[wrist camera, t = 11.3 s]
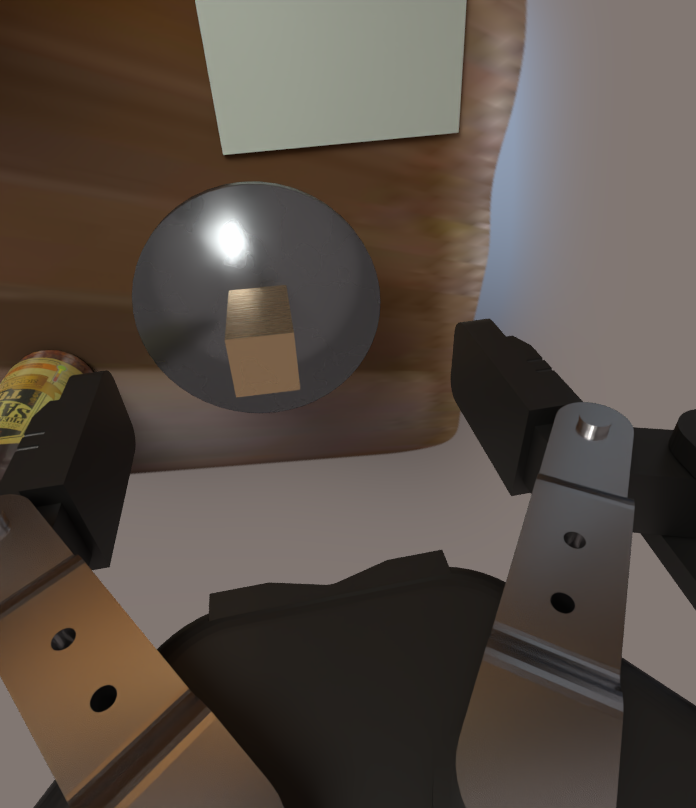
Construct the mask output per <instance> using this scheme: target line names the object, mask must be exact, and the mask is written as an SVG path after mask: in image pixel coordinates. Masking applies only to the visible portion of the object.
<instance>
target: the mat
mask: <svg viewBox="0 0 696 808" xmlns="http://www.w3.org/2000/svg"><path fill="white" fill-rule="evenodd" d="M466 2H467V0H195V3H196V8H197V14H198V19H199V25H200V30H201V36H202V41H203V47H204V52H205V58H206V63H207V69H208V74H209V80H210V85H211V91H212V96H213V102H214V107H215V113H216V118H217V124H218V129H219V135H220V140H221V146H222V151H223V155H228V154H238V153H249V152H260V151H270V150H281V149H291V148H302V147H312V146H323V145H333V144H344V143H354V142H365V141H376V140H386V139H397V138H407V137H418V136H428V135H439V134H449V133H459V117H460V101H461V84H462V68H463V51H464V35H465V18H466Z"/></svg>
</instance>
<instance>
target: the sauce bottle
mask: <svg viewBox="0 0 696 808" xmlns="http://www.w3.org/2000/svg"><path fill="white" fill-rule="evenodd" d="M92 372H93V371H92V370H91V368H90V367H89V366H88V365H87V364H86V363H85V362H84V361H82V360H81V359H79V358H78V357H76V356H75V355H73V354H70V353H67V352H63V351H59V350H44V351H38V352H33V353H31V354H30V355H27V356H25V357H24V358H23V359H22V360H20V361H19V363H18V364H16V365H15V366H14V367H12V368H11V369H10V371H9V372H8V373H7V375H6V376H5V378H4V379H3V380H2V382H1V383H0V481H1V479H2V477H3V475H4V473H5V471H6V469H7V467H8V465H9V463H10V461H11V459H12V457H13V455H14V453H15V451H18V450H17V447H18V445H19V443H20V441H21V439H22V437H24V433H25V431H26V429H27V427H28V425H29V423H30V421H31V419H32V417H33V416H34V415H35V414H36V413H37V412H38V411H39V410H40V409H42V408H43V407H44V406H45V405H46V404H47V403H48V402H49V401H53V400H59V399H60V397H61V395H62V392H63V390H64V388H65V386H66V383H67V381H68V379H69V377H70V376H72V375H78V374H85V373H92Z"/></svg>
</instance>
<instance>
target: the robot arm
mask: <svg viewBox="0 0 696 808" xmlns="http://www.w3.org/2000/svg"><path fill="white" fill-rule="evenodd" d="M451 388H452V393H453V396H454V399H455V401H456V403H457V405H458V407H459V408H460V410H461V412H462V413H463V415H464V417H465V418H466V420H467V422H468V423H469V425H470V427H471V429H472V430H473V432H474V434H475V435H476V437H477V439H478V440H479V442H480V444H481V446H482V447H483V449H484V451H485V452H486V454H487V455H488V457H489V459H490V461H491V463H492V464H493V465H494V468H495V469H496V471H497V473H498V474H499V476H500V478H501V479H502V481H503V483H504V485H505V486H506V488H507V490H508V491H509V493H510V495H511V496H514V495H519V494H525V493H531V494H532V495H531V499H530V502H529V506H528V509H527V512H526V515H525V519H524V522H523V526H522V529H521V532H520V536H519V539H518V543H517V546H516V550H515V553H514V557H513V560H512V563H511V566H510V570H509V574H508V577H507V580H506V582H504V581H502V580H500V579H498V578H495V577H493V576H490V575H487V574H484V573H481V572H478V571H474V570H469V569H464V568H457V567H449V566H448V563H447V561H446V558H445V556H444V553H443V551H442V550H438V551H433V552H428V553H422V554H417V555H412V556H406V557H401V558H396V559H391V560H387V561H384V562H382V563H380V564H378V565H375V566H373V567H371V568H369V569H367V570H364V571H362V572H360V573H357V574H355V575H353V576H351V577H349V578H347V579H344V580H342V581H340V582H337V583H335V584H331V585H314V584H290V583H265V584H259V585H254V586H249V587H243V588H238V589H233V590H228V591H222V592H217V593H212V594H210V599H209V600H210V601H209V614H207V615H204V616H202V617H200V618H198V619H196V620H195V621H193V622H192V623H190V624H188V625H186V626H185V627H183V628H182V629H181V630H179V631H178V632H176V633H175V634H174V635H172V636H171V637H170V638H169V639H168V640H167V641H165V642H164V643H163V644H162V645H161V646H160V647H159V648H158V649H156V648H155V647H154V646H153V644H152V643H151V642H150V641H149V640H148V638H147V637H146V636H145V635H144V633H143V632H142V631H141V630H140V629H139V627H138V626H137V625H136V624H135V623H134V621H133V620H132V619H131V618H130V616H129V615H128V614H127V613H126V612H125V610H124V609H123V608H122V607H121V605H120V604H119V603H118V602H117V601H116V599H115V598H114V597H113V596H112V594H111V593H110V592H109V591H108V590H107V589H106V587H105V586H104V585H103V584H102V583H101V581H100V580H99V579H98V577H97V576H96V575H95V574H94V573H93V571H92V570H95V569H101V568H107V567H110V562H111V558H112V553H113V549H114V544H115V539H116V535H117V530H118V526H119V521H120V517H121V512H122V508H123V503H124V498H125V494H126V489H127V485H128V480H129V476H130V471H131V467H132V462H133V457H134V453H135V435H134V430H133V426H132V423H131V420H130V418H129V415H128V413H127V410H126V408H125V405H124V403H123V400H122V398H121V395H120V393H119V390H118V388H117V385H116V383H115V380H114V378H113V376H112V375H111V373H110V372H109V371H100V372H92V373H85V374H78V375H72V376H70V377H69V379H68V381H67V383H66V386H65V388H64V390H63V392H62V395H61V397H60V399H59V400H53V401H49V402H48V403H47V404H46V405H45V406H44V407H43V408H42V409H40V410H39V411H38V412H37V413H36V414H35V415H34V416H33V417H32V419H31V421H30V423H29V425H28V427H27V429H26V431H25V433H24V437H22V439H21V441H20V443H19V445H18V447H17V450H18V451H15V453H14V455H13V457H12V459H11V461H10V463H9V465H8V467H7V469H6V471H5V473H4V475H3V477H2V479H1V481H0V677H1V679H2V681H3V682H4V684H5V686H6V688H7V690H8V692H9V693H10V695H11V697H12V699H13V701H14V703H15V705H16V707H17V709H18V710H19V712H20V714H21V716H22V718H23V720H24V721H25V724H26V726H27V727H28V729H29V731H30V733H31V735H32V737H33V739H34V741H35V742H36V744H37V746H38V748H39V750H40V752H41V754H42V755H43V757H44V759H45V761H46V763H47V765H48V767H49V768H50V770H51V772H52V774H53V776H54V778H55V780H54V782H53V783H52V784H51V785H50V787H49V788H48V789H47V791H46V792H45V794H44V795H43V796H42V797H41V799H40V800H39V801H38V802H37V804H36V805H35V806H34V808H696V706H695V705H694V704H692V703H691V702H689V701H688V700H686V699H685V698H683V697H681V696H680V695H679V694H677V693H675V692H674V691H672V690H671V689H669V688H667V687H666V686H664V685H663V684H662V683H660V682H659V681H657V680H655V679H654V678H653V677H651V676H649V675H648V674H646V673H645V672H643V671H642V670H640V669H639V668H637V667H636V666H634V665H633V664H631V663H630V662H628V661H627V660H625V659H624V658H622V647H623V635H624V624H625V612H626V600H627V589H628V578H629V566H630V555H631V543H632V532H634V533H641V535H642V536H643V537H644V539H645V540H646V542H647V543H648V544H649V546H650V547H651V549H652V550H653V551H654V553H655V554H656V555H657V557H658V558H659V560H660V561H661V563H662V564H663V565H664V567H665V568H666V569H667V571H668V572H669V574H670V575H671V576H672V578H673V579H674V581H675V582H676V583H677V585H678V586H679V588H680V589H681V590H682V592H683V593H684V595H685V596H686V597H687V599H688V600H689V601H690V603H691V604H692V605H693V607H694V608H695V610H696V409H695V410H690V411H687V412H685V413H683V414H682V415H681V416H680V417H679V420H678V422H677V424H676V426H675V429H674V430H663V429H648V428H634V427H633V426H632V424H631V423H630V421H629V420H628V419H627V418H626V417H625V416H624V415H622V414H621V413H619V412H618V411H616V410H614V409H612V408H610V407H607V406H604V405H601V404H596V403H589V402H583V401H582V400H581V399H580V398H579V397H578V396H577V395H576V394H575V393H574V392H573V390H572V389H571V388H570V387H569V386H568V385H567V384H566V383H565V382H564V381H563V380H562V379H561V377H560V376H559V375H558V374H557V373H556V372H555V371H552V368H551V367H550V366H549V364H548V363H547V362H546V361H545V360H542V357H541V356H540V355H539V354H538V353H537V351H536V350H535V349H534V348H533V347H532V346H531V345H529V344H527V343H525V342H523V341H522V340H520V339H518V338H516V337H514V336H508V337H506V336H505V335H504V334H503V333H502V331H501V330H500V329H499V328H498V327H497V326H496V325H495V323H494V322H493V321H492V320H490V319H482V320H475V321H468V322H460V323H458V324H457V325H456V328H455V334H454V345H453V357H452V368H451Z"/></svg>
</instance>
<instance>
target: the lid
mask: <svg viewBox="0 0 696 808" xmlns="http://www.w3.org/2000/svg"><path fill="white" fill-rule="evenodd" d="M132 303H133V313H134V317H135V322H136V326H137V329H138V332H139V334H140V337H141V339H142V342H143V344H144V346H145V347H146V349H147V351H148V353H149V355H150V356H151V357H152V359H153V360H154V361H155V363H156V364H157V366H158V367H159V368H160V369H161V370H162V371H163V372H164V373H165V374H166V375H167V376H168V377H169V378H170V379H171V380H172V381H173V382H174V383H176V384H177V385H178V386H179V387H181V388H182V389H184V390H185V391H187V392H188V393H190V394H191V395H193V396H195V397H197V398H199V399H201V400H203V401H205V402H207V403H210V404H213V405H215V406H218V407H221V408H225V409H229V410H233V411H240V412H247V413H270V412H279V411H285V410H290V409H294V408H297V407H301V406H304V405H306V404H309V403H311V402H314V401H316V400H318V399H320V398H321V397H323V396H325V395H327V394H329V393H330V392H331V391H333V390H334V389H336V388H337V387H338V386H340V385H341V384H342V383H343V382H344V381H345V380H346V379H347V378H349V377H350V375H351V374H352V373H353V372H354V371H355V370H356V369H357V367H358V366H359V365H360V363H361V362H362V360H363V359H364V357H365V356H366V354H367V352H368V350H369V348H370V346H371V344H372V342H373V339H374V336H375V333H376V330H377V325H378V320H379V315H380V290H379V284H378V279H377V274H376V271H375V268H374V265H373V263H372V260H371V257H370V256H369V254H368V252H367V250H366V248H365V246H364V244H363V243H362V241H361V239H360V238H359V237H358V235H357V234H356V232H355V231H354V230H353V228H352V227H351V226H350V225H349V224H348V223H347V222H346V221H345V220H344V219H343V218H342V216H341V215H339V214H338V213H337V212H336V211H334V210H333V209H332V208H331V207H329V206H328V205H327V204H325V203H324V202H322V201H320V200H318V199H317V198H315V197H313V196H312V195H309V194H307V193H305V192H302V191H300V190H298V189H295V188H291V187H287V186H284V185H280V184H274V183H267V182H238V183H231V184H225V185H221V186H218V187H214V188H211V189H208V190H205V191H203V192H201V193H199V194H197V195H195V196H192V197H191V198H189V199H188V200H186V201H185V202H183V203H181V204H180V205H178V206H177V207H176V208H175V209H174V210H172V211H171V212H170V213H169V214H168V215H167V216H166V217H165V218H164V219H163V220H162V221H161V222H160V224H159V225H158V226H157V227H156V228H155V230H154V231H153V233H152V234H151V236H150V238H149V239H148V241H147V243H146V244H145V246H144V248H143V250H142V253H141V255H140V258H139V260H138V263H137V266H136V270H135V275H134V279H133V289H132Z"/></svg>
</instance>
